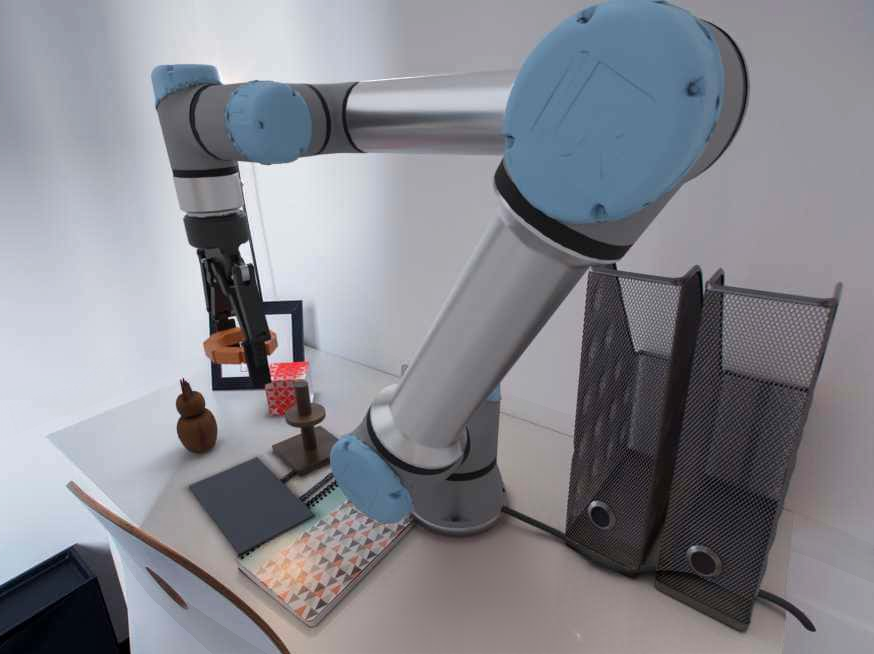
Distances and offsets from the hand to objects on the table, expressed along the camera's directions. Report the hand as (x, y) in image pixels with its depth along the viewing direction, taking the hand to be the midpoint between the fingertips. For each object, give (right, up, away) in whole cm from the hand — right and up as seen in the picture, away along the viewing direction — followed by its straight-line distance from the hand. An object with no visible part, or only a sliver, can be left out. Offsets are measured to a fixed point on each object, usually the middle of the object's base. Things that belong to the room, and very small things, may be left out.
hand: (247, 372), depth 77 cm
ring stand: (+6, -14, +18) cm, 23 cm away
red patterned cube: (-1, -5, +33) cm, 33 cm away
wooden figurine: (-15, -13, +20) cm, 28 cm away
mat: (-2, -20, +6) cm, 21 cm away
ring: (0, +3, -2) cm, 4 cm away
